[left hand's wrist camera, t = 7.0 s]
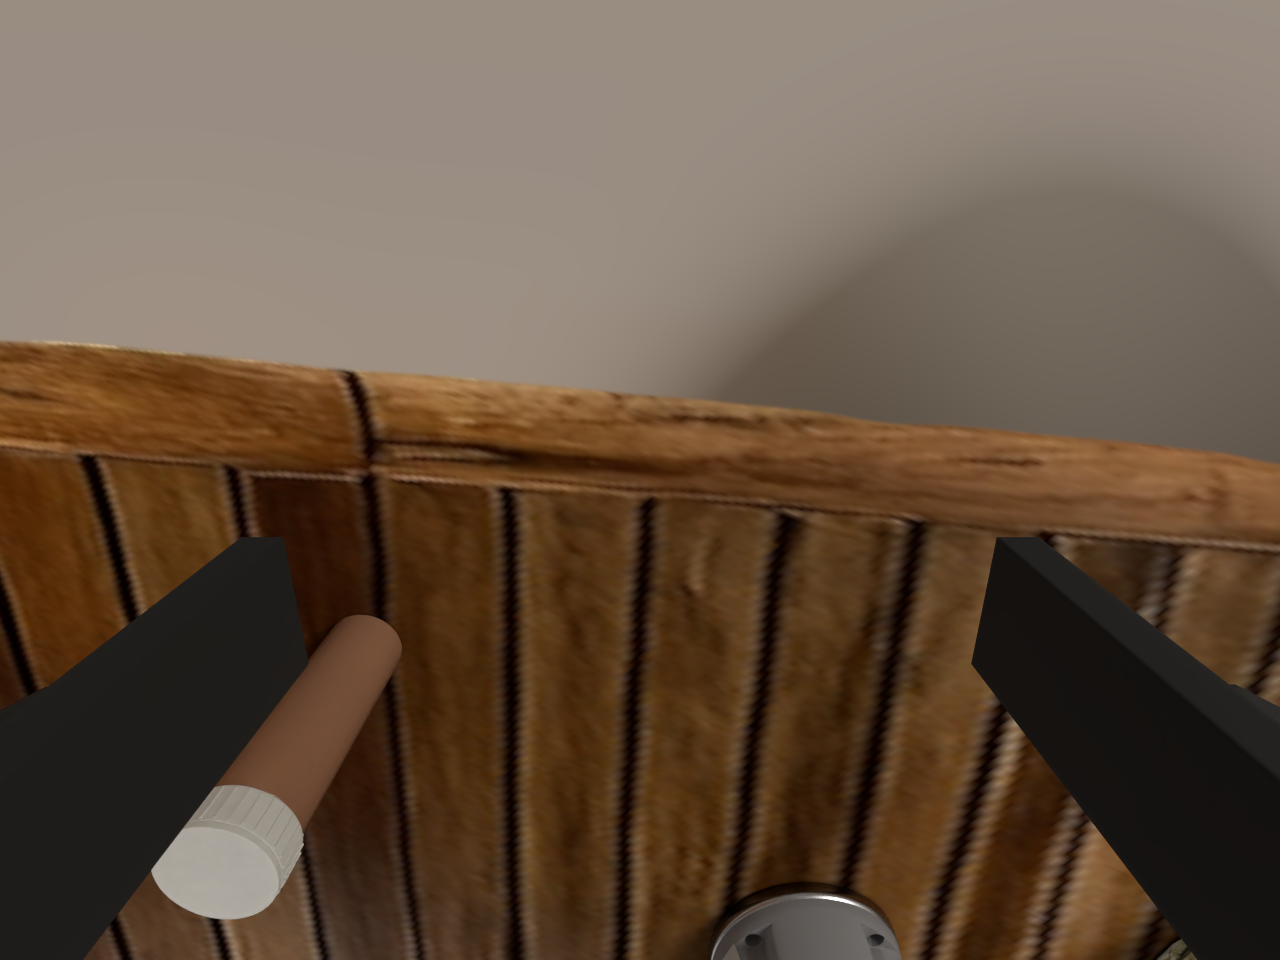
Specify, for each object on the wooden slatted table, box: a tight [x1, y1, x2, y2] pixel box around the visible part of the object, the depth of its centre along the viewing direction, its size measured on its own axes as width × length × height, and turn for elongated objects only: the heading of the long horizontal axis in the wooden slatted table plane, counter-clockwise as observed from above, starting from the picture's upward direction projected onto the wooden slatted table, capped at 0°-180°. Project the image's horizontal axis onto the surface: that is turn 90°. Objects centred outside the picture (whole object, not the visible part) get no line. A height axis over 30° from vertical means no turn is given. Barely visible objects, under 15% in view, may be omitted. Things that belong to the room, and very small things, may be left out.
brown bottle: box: [215, 615, 402, 833], centre depth 38 cm, size 5×5×17 cm
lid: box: [151, 785, 304, 919], centre depth 31 cm, size 6×6×2 cm
